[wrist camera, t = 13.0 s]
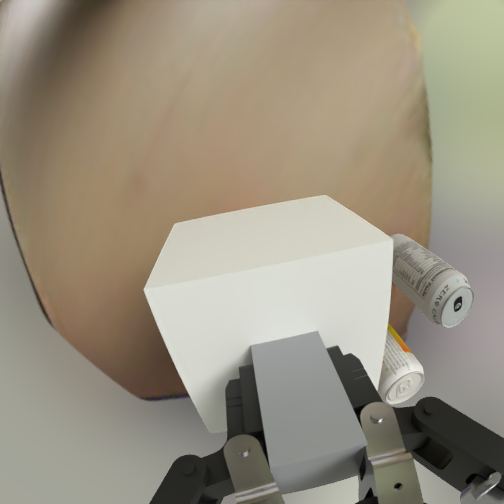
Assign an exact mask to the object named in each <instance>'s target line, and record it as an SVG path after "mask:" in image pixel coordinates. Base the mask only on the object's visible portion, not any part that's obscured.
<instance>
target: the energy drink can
mask: <svg viewBox="0 0 504 504" xmlns="http://www.w3.org/2000/svg"><path fill="white" fill-rule="evenodd" d="M390 238H392V239H393V266H392V282H393V283H394V284H395V285H396V286H397V287H398V288H399V289H400V290H401V291H402V292H403V293H404V294H405V295H406V296H407V297H408V298H409V299H410V300H411V301H412V302H413V303H414V304H415V305H416V306H417V307H418V308H419V309H420V310H421V311H422V312H423V313H424V314H425V315H426V316H427V317H428V318H429V319H430V321H432V322H433V323H435V324H441V325H444V327H447V328H451V327H454V326H456V325H457V324H459V323H460V322H461V321H463V319H464V318H465V317H466V316H467V314H468V313H469V311H470V310H471V307H472V305H473V302H474V292H473V290H472V289H471V288H470V286H469V283H468V280H467V278H466V277H465V276H464V275H463V274H461V273H460V272H458V271H457V270H456V269H454V268H453V267H451V266H450V265H448V264H447V263H446V262H444V261H443V260H441V259H440V258H439V257H437V256H436V255H434V254H433V253H431V252H430V251H428V250H427V249H425V248H424V247H422V246H421V245H419V244H418V243H416V242H415V241H413V240H412V239H410V238H409V237H407V236H405V235H403V234H395V235H392V236H390Z"/></svg>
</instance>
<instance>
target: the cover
mask: <svg viewBox="0 0 504 504" xmlns="http://www.w3.org/2000/svg"><path fill="white" fill-rule="evenodd" d="M392 266H393V239H392V238H390V237H389V236H388V235H386V234H385V233H383V232H382V231H380V230H379V229H377V228H376V227H374V226H373V225H371V224H370V223H369V222H367V221H366V220H364V219H362V218H361V217H359V216H358V215H356V214H355V213H353V212H352V211H350V210H349V209H347V208H346V207H344V206H342V205H341V204H339V203H338V202H336V201H335V200H333V199H331V198H330V197H328V196H327V195H321V196H315V197H309V198H303V199H298V200H292V201H286V202H280V203H275V204H269V205H264V206H259V207H253V208H248V209H243V210H238V211H233V212H228V213H223V214H218V215H213V216H208V217H203V218H198V219H194V220H189V221H184V222H180V223H175V224H174V226H173V228H172V230H171V232H170V234H169V236H168V238H167V240H166V242H165V244H164V246H163V249H162V251H161V253H160V255H159V257H158V259H157V261H156V263H155V266H154V268H153V270H152V272H151V274H150V277H149V279H148V281H147V283H146V285H145V288H144V292H145V295H146V297H147V300H148V303H149V305H150V308H151V310H152V313H153V315H154V318H155V320H156V323H157V325H158V328H159V330H160V332H161V335H162V337H163V339H164V342H165V344H166V346H167V349H168V351H169V353H170V355H171V358H172V360H173V362H174V364H175V366H176V368H177V371H178V373H179V375H180V377H181V379H182V381H183V383H184V385H185V387H186V389H187V391H188V393H189V395H190V397H191V399H192V401H193V403H194V405H195V407H196V409H197V411H198V413H199V415H200V416H201V418H202V420H203V422H204V424H205V426H206V428H207V429H208V431H209V433H219V432H227V418H226V399H225V388H226V386H227V384H228V382H229V380H233V379H239V378H240V375H239V367H241V366H246V365H252V364H253V365H254V371H255V378H256V384H257V391H258V397H259V403H260V409H261V416H262V422H263V428H264V434H265V440H266V446H267V452H268V458H269V464H270V469H271V472H272V474H273V477H274V480H275V482H276V485H277V487H278V489H279V491H280V493H281V495H282V494H287V493H292V492H297V491H302V490H306V489H311V488H315V487H319V486H322V485H326V484H330V483H334V482H337V481H341V480H344V479H347V478H350V477H353V476H356V475H358V469H359V468H360V466H361V462H362V459H363V456H364V449H365V446H366V445H367V443H368V442H367V440H366V437H365V435H364V433H363V430H362V428H361V426H360V423H359V421H358V419H357V417H356V414H355V412H354V410H353V407H352V405H351V403H350V401H349V398H348V396H347V394H346V392H345V389H344V387H343V385H342V383H341V381H340V378H339V376H338V374H337V372H336V369H335V367H334V365H333V363H332V361H331V358H330V356H329V354H328V352H327V350H326V348H329V347H332V346H336V345H338V346H339V348H340V350H341V352H342V354H343V355H346V354H349V353H352V354H353V355H354V356H356V357H357V358H359V359H360V361H361V363H362V365H363V366H364V369H365V370H366V372H367V374H368V376H369V377H370V379H371V381H372V383H373V385H374V386H375V388H376V390H378V385H379V380H380V374H381V368H382V362H383V356H384V349H385V342H386V335H387V327H388V318H389V308H390V297H391V284H392Z"/></svg>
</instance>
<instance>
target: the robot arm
mask: <svg viewBox="0 0 504 504" xmlns="http://www.w3.org/2000/svg"><path fill="white" fill-rule="evenodd" d="M326 350H327V352H328V354H329V356H330V358H331V361H332V363H333V365H334V367H335V369H336V372H337V374H338V376H339V378H340V381H341V383H342V385H343V387H344V389H345V392H346V394H347V396H348V398H349V401H350V403H351V405H352V407H353V410H354V412H355V414H356V417H357V419H358V421H359V423H360V426H361V428H362V430H363V433H364V435H365V437H366V440H367V442H368V443H367V445H366V446H365V449H364V456H363V459H362V462H361V466H360V468H359V469H358V480H359V502H357V503H355V504H426V503H424V502H423V498H422V493H421V489H420V484H419V480H418V476H417V472H416V468H415V464H414V460H413V459H415V460H416V461H418V462H419V463H420V464H422V465H423V466H425V467H426V468H427V469H429V470H430V471H432V472H433V473H434V474H436V475H437V476H438V477H440V478H441V479H443V480H444V481H446V482H447V483H449V484H450V485H452V486H453V487H454V488H456V489H457V490H459V491H460V492H461V496H460V501H461V504H504V438H502V437H501V436H499V435H497V434H496V433H494V432H492V431H491V430H489V429H487V428H486V427H484V426H482V425H481V424H479V423H477V422H476V421H474V420H472V419H471V418H469V417H468V416H466V415H464V414H463V413H461V412H459V411H458V410H456V409H454V408H453V407H451V406H450V405H448V404H446V403H445V402H443V401H442V400H440V399H438V398H435V397H426V398H423V399H421V400H419V401H418V402H417V404H416V406H412V407H403V408H395V407H391V406H390V405H388V404H386V403H384V402H383V401H382V399H381V397H380V396H379V394H378V392H377V390H376V388H375V386H374V385H373V383H372V381H371V379H370V377H369V376H368V374H367V372H366V370H365V369H364V366H363V365H362V363H361V361H360V359H359V358H357V357H356V356H354V355H353V354H352V353H349V354H346V355H343V354H342V352H341V350H340V348H339V346H338V345H336V346H332V347H329V348H326ZM239 375H240V378H239V379H233V380H229V382H228V384H227V386H226V388H225V399H226V418H227V434H228V435H227V441H226V443H225V445H224V446H223V447H222V448H221V449H220V450H219V451H217V452H215V453H213V454H211V455H208V456H206V457H203V458H200V457H198V456H196V455H184V456H181V457H179V458H178V459H176V461H174V463H173V464H172V466H171V468H170V469H169V471H168V473H167V475H166V476H165V478H164V480H163V481H162V483H161V485H160V487H159V488H158V490H157V492H156V493H155V495H154V497H153V498H152V500H151V502H150V503H149V504H221V502H222V500H223V497H225V496H227V495H230V494H232V493H235V492H236V502H237V504H285V503H284V500H283V498H282V496H281V493H280V491H279V489H278V487H277V485H276V482H275V480H274V478H273V475H272V473H271V470H270V466H269V460H268V452H267V446H266V440H265V434H264V428H263V422H262V416H261V409H260V403H259V397H258V391H257V384H256V378H255V371H254V365H253V364H252V365H246V366H241V367H239Z"/></svg>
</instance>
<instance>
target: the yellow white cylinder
mask: <svg viewBox="0 0 504 504" xmlns="http://www.w3.org/2000/svg"><path fill="white" fill-rule="evenodd" d="M424 379H425V376H424V373H423V367H422V366H421V364H420V363H419V362H418V360H417V359H416V358H415V356H414V355H413V354H412V352H411V351H410V350H409V348H408V347H407V346H406V345H405V343H404V342H403V340H402V339H401V338H400V337H399V335H398V334H397V333H396V331H395V330H394V329H393V328H392V326H391V325H390V324H389V323H388V327H387V335H386V342H385V349H384V356H383V362H382V368H381V374H380V380H379V385H378V390H377V392H378V394H379V395H380V397H381V398H382V399H384V400H385V401H387V402H388V403H389V404H398V403H401V402H403V401H405V400H407V399H409V398H410V397H412V396H413V395H414V394H415V393H416V392H417V391H418V390H419V389H420V388H421V386H422V385H423V383H424Z"/></svg>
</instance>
